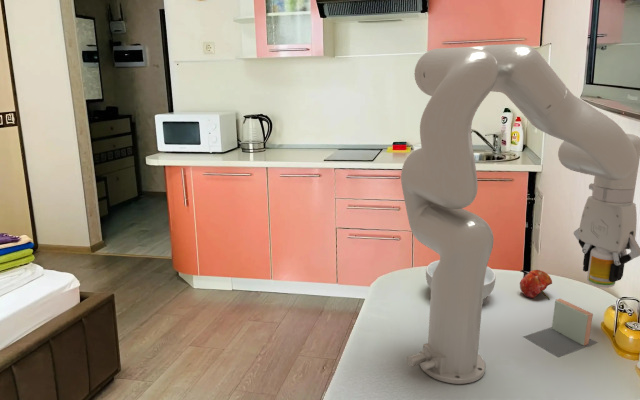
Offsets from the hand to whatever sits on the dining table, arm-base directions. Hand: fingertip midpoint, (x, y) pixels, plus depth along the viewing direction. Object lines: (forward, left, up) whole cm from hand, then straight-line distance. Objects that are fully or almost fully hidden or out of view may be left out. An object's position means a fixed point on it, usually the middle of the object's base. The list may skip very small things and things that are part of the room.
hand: (601, 274), depth 114 cm
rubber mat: (-11, 0, -13) cm, 17 cm away
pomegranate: (+2, +18, -13) cm, 22 cm away
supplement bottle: (0, 0, -2) cm, 2 cm away
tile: (-8, 0, -13) cm, 15 cm away
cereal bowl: (-15, +27, -13) cm, 33 cm away
